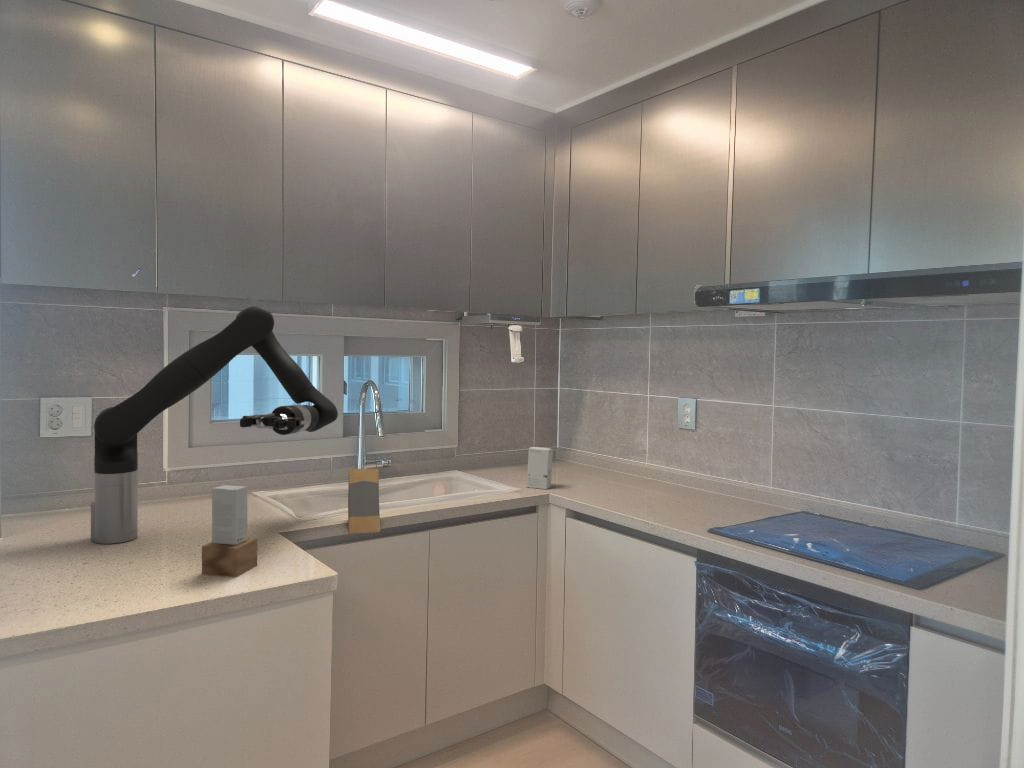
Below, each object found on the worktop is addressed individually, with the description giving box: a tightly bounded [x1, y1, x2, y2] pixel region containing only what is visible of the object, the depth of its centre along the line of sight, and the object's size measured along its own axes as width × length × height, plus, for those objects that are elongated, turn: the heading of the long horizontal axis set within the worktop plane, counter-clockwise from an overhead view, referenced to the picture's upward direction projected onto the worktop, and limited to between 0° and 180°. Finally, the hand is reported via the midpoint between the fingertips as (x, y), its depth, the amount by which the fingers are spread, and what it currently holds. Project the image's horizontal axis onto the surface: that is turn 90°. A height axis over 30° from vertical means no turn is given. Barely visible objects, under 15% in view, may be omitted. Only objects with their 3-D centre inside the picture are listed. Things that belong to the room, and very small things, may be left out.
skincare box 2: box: [526, 446, 554, 490], centre depth 239 cm, size 8×6×15 cm
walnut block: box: [201, 537, 258, 578], centre depth 139 cm, size 8×8×6 cm
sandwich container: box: [347, 468, 381, 534], centre depth 178 cm, size 9×15×15 cm, turn 15°
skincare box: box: [211, 484, 248, 545], centre depth 139 cm, size 6×4×12 cm
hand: (258, 423), depth 154 cm, fingers open, 8 cm apart
